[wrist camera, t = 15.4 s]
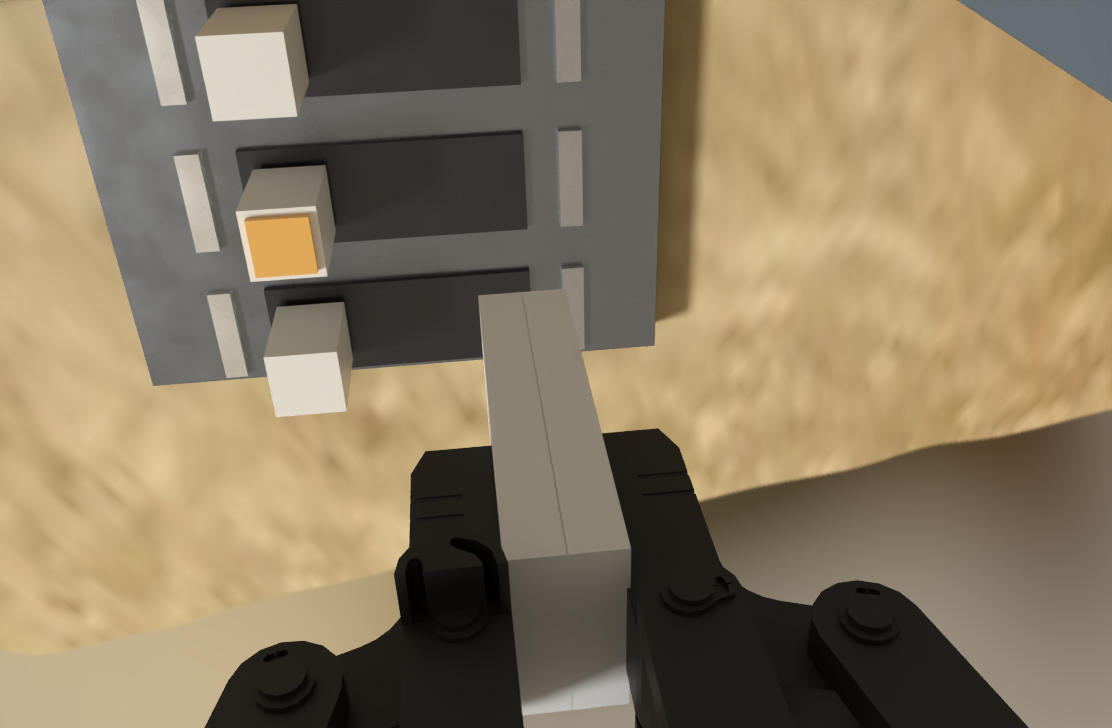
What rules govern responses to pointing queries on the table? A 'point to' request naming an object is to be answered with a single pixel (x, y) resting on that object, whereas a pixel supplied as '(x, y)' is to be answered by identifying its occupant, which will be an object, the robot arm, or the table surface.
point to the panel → (381, 171)
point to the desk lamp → (1060, 34)
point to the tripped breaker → (287, 223)
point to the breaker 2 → (309, 359)
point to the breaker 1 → (253, 62)
